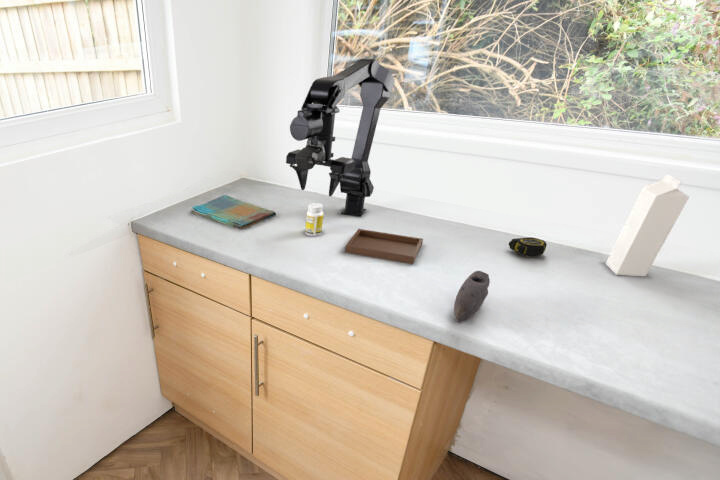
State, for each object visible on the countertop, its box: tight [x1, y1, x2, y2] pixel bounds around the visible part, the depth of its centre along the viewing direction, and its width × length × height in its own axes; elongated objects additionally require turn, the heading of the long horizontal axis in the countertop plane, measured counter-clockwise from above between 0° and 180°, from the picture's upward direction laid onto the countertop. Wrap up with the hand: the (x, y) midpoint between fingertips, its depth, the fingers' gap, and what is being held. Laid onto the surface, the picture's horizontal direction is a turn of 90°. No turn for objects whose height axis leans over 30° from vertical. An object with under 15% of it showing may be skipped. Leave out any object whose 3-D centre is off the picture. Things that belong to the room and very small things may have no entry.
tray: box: [344, 228, 424, 265], centre depth 128 cm, size 13×18×2 cm
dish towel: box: [189, 194, 277, 231], centre depth 154 cm, size 17×23×2 cm
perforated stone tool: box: [453, 270, 491, 323], centre depth 99 cm, size 15×5×7 cm, turn 141°
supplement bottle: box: [305, 202, 324, 237], centre depth 137 cm, size 5×5×8 cm
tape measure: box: [508, 236, 547, 258], centre depth 121 cm, size 7×7×4 cm
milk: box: [605, 173, 690, 277], centre depth 107 cm, size 6×6×22 cm
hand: (316, 192), depth 133 cm, fingers open, 9 cm apart
